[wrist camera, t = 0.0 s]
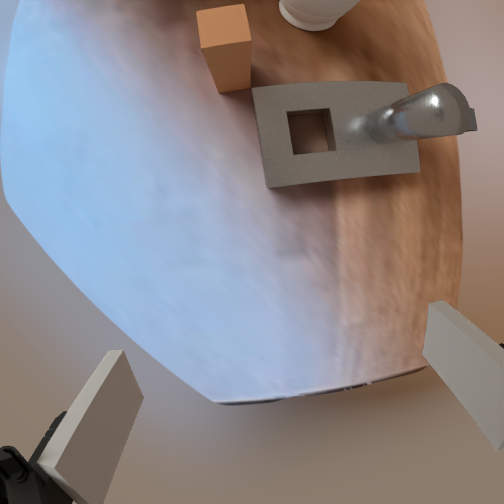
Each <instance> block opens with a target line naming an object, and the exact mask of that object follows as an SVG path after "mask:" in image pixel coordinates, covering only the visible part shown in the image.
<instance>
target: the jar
mask: <svg viewBox="0 0 504 504" xmlns="http://www.w3.org/2000/svg"><path fill="white" fill-rule="evenodd" d="M359 1H360V0H280V2H279V9H280V12H281V14H282V16H283V17H284V18H285V19H286V20H287V21H288V22H289V23H290V24H292V25H294V26H295V27H298V28H300V29H303V30H308V31H321V30H325V29H328V28H330V27H331V26H333V25H334V24H335V23H336V21H337V20H338V18H340V17H342V16H343V15H344V14H345V13H347V12H348V11H349V10H350V9H352V8H353V7H354V6H355V5H356V4H357V3H358V2H359Z"/></svg>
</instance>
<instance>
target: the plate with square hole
mask: <svg viewBox="0 0 504 504" xmlns="http://www.w3.org/2000/svg"><path fill="white" fill-rule="evenodd" d="M252 100H253V106H254V112H255V118H256V124H257V131H258V137H259V143H260V149H261V155H262V162H263V168H264V175H265V181H266V187H267V188H274V187H282V186H289V185H296V184H304V183H312V182H321V181H329V180H338V179H348V178H357V177H368V176H379V175H391V174H404V173H419V172H421V170H420V160H419V152H418V144H417V140H418V139H426V138H434V137H443V136H452V135H460V134H463V133H464V132H468V131H477V124H476V118H475V113H474V109H472V108H469V105H468V102H467V100H466V98H465V96H464V95H463V94H462V92H461V91H460V90H459V89H458V88H456V87H455V86H453V85H451V84H448V83H441V84H438V85H436V86H433V87H430V88H428V89H425V90H423V91H420V92H418V93H415V94H413V95H410V96H409V92H408V88H407V83H401V82H381V81H327V82H307V83H293V84H282V85H272V86H263V87H255V88H252ZM320 113H323V118H324V123H325V129H326V136H327V142H328V148H329V151H327V152H317V153H308V154H299V155H293V150H292V143H291V137H290V131H289V125H288V119H287V116H296V115H307V114H320Z"/></svg>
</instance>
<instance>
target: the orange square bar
mask: <svg viewBox="0 0 504 504" xmlns="http://www.w3.org/2000/svg"><path fill="white" fill-rule="evenodd" d="M196 14H197V21H198V29H199V36H200V43H201V49H202V52H203V54H204V57H205V59H206V62H207V64H208V67H209V69H210V72H211V74H212V77H213V79H214V82H215V85H216V87H217V90H218V92H219V93H223V92H229V91H235V90H242V89H248V88H250V84H251V43H252V40H251V35H250V30H249V25H248V20H247V15H246V10H245V5H244V4H238V5H231V6H224V7H218V8H212V9H206V10H201V11H196Z"/></svg>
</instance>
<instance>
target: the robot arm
mask: <svg viewBox="0 0 504 504" xmlns="http://www.w3.org/2000/svg"><path fill="white" fill-rule="evenodd" d="M422 355H423V357H424V358H425V359H426V360H427V361H428V363H429V364H430V365H431V366H432V367H433V369H434V370H435V371H436V372H437V373H438V375H439V376H440V377H441V378H442V380H443V381H444V382H445V383H446V385H447V386H448V387H449V388H450V390H451V391H452V392H453V394H454V395H455V396H456V397H457V399H458V400H459V401H460V402H461V404H462V405H463V406H464V408H465V409H466V410H467V412H468V413H469V414H470V416H471V417H472V418H473V420H474V421H475V422H476V424H477V425H478V426H479V428H480V429H481V430H482V432H483V433H484V435H485V436H486V437H487V439H488V440H489V441H490V443H491V444H492V446H493V447H494V449H495V450H496V451H498V450H499V449H501V448H502V447H504V344H502V343H501V344H499V345H498V344H497V343H496V342H495V341H494V340H492V339H491V338H490V337H489V336H488V335H486V334H485V333H484V332H483V331H482V330H480V329H479V328H478V327H477V326H476V325H474V324H473V323H472V322H471V321H469V320H468V319H467V318H466V317H464V316H463V315H462V314H461V313H459V312H458V311H457V310H455V309H454V308H453V307H452V306H450V305H449V304H448V303H446V302H445V301H444V300H439V301H436V302H432V303H429V309H428V318H427V327H426V334H425V341H424V348H423V354H422ZM143 399H144V397H143V395H142V393H141V390H140V388H139V386H138V384H137V381H136V379H135V377H134V375H133V372H132V370H131V367H130V365H129V363H128V360H127V358H126V355H125V353H124V350H109V351H108V353H107V354H106V355H105V357H104V358H103V359H102V361H101V362H100V364H99V365H98V367H97V368H96V370H95V371H94V373H93V374H92V376H91V377H90V378H89V380H88V381H87V383H86V384H85V386H84V387H83V389H82V391H81V392H80V393H79V395H78V396H77V398H76V399H75V401H74V402H73V404H72V406H71V407H70V409H69V410H68V412H67V411H64V412H63V413H62V414H60V415H59V416H58V417H57V418H55V420H54V421H53V423H52V424H51V426H50V428H49V430H48V431H47V432H46V434H45V437H43V438H42V440H41V442H40V443H39V445H38V446H37V448H36V450H35V451H34V453H33V455H32V456H31V458H30V460H29V461H28V462H27V461H26V460H25V459H24V457H23V456H22V455H21V454H20V453H19V451H18V450H17V449H15V448H14V447H12V446H3V447H1V448H0V504H72V502H73V500H74V501H75V502H76V503H77V504H103V503H104V500H105V497H106V494H107V492H108V489H109V486H110V483H111V481H112V478H113V475H114V472H115V470H116V467H117V464H118V462H119V459H120V457H121V453H122V451H123V449H124V446H125V444H126V441H127V439H128V436H129V433H130V431H131V428H132V426H133V423H134V421H135V418H136V416H137V413H138V411H139V409H140V406H141V404H142V401H143Z"/></svg>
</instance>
